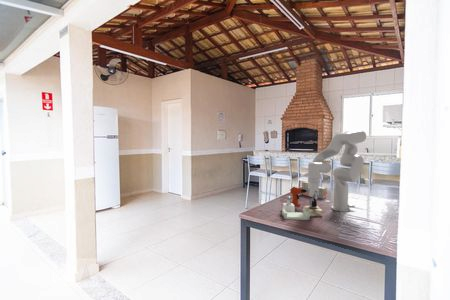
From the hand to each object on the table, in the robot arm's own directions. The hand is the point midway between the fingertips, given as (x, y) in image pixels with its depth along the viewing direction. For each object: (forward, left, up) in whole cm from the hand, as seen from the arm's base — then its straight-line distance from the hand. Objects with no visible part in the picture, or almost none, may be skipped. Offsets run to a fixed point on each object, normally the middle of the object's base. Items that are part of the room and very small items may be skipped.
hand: (313, 205), depth 160 cm
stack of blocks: (-16, -51, -6) cm, 54 cm away
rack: (+14, +8, -6) cm, 17 cm away
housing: (+16, -4, -6) cm, 17 cm away
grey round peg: (0, 0, -6) cm, 6 cm away
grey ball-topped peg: (+16, -4, -5) cm, 17 cm away
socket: (0, 0, -6) cm, 6 cm away
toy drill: (+4, -17, -6) cm, 18 cm away
